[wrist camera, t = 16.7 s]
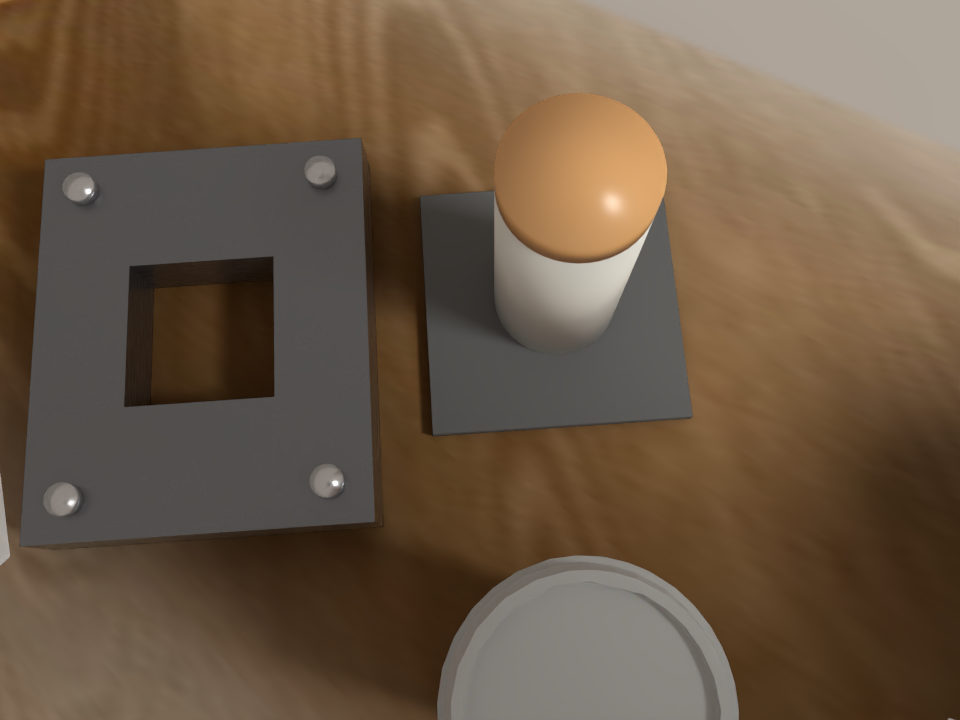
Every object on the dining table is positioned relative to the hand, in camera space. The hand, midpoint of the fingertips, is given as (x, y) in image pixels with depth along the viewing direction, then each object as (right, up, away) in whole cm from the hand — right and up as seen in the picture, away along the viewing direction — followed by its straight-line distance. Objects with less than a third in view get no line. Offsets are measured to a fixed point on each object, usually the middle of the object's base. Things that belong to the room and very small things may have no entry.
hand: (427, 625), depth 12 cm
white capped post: (+4, +7, +30) cm, 31 cm away
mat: (+4, +6, +30) cm, 31 cm away
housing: (-12, +4, +30) cm, 33 cm away
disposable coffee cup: (+4, -10, +26) cm, 29 cm away
